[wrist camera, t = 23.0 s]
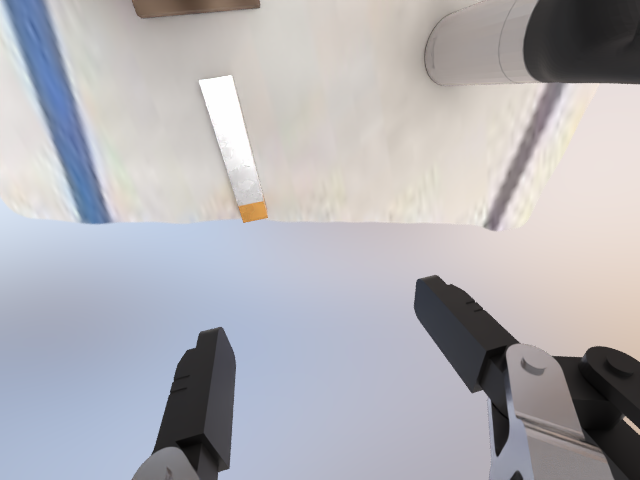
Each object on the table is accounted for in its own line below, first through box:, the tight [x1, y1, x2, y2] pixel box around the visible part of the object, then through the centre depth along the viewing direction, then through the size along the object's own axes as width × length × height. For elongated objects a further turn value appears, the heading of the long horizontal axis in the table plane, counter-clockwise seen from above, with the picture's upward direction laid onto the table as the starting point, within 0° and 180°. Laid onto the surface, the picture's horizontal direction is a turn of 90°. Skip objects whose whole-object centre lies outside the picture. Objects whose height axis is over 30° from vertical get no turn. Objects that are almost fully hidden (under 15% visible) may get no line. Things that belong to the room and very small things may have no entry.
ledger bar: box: [199, 76, 268, 223], centre depth 39 cm, size 4×20×4 cm, turn 7°
